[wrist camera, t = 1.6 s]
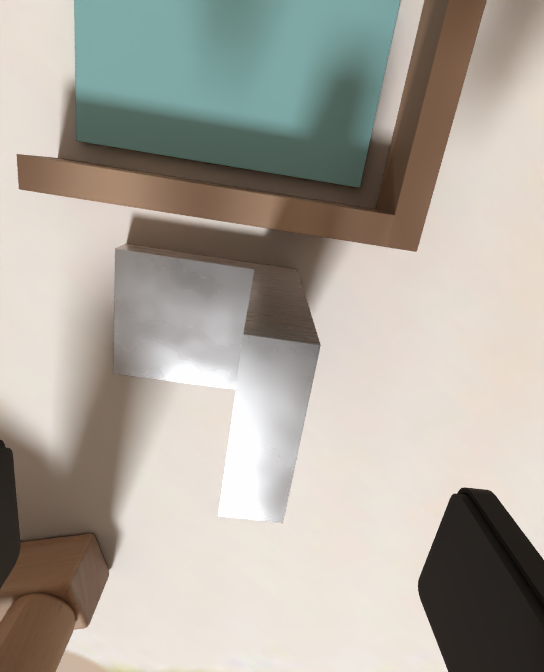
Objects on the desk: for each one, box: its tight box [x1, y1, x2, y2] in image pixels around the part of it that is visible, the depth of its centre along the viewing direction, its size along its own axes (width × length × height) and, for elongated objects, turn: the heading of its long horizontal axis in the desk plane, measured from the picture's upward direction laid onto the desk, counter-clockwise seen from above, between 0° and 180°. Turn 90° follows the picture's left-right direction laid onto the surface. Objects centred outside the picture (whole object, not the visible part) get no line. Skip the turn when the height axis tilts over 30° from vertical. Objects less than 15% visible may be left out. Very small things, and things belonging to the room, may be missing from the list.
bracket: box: [113, 244, 320, 523], centre depth 16 cm, size 8×6×10 cm
